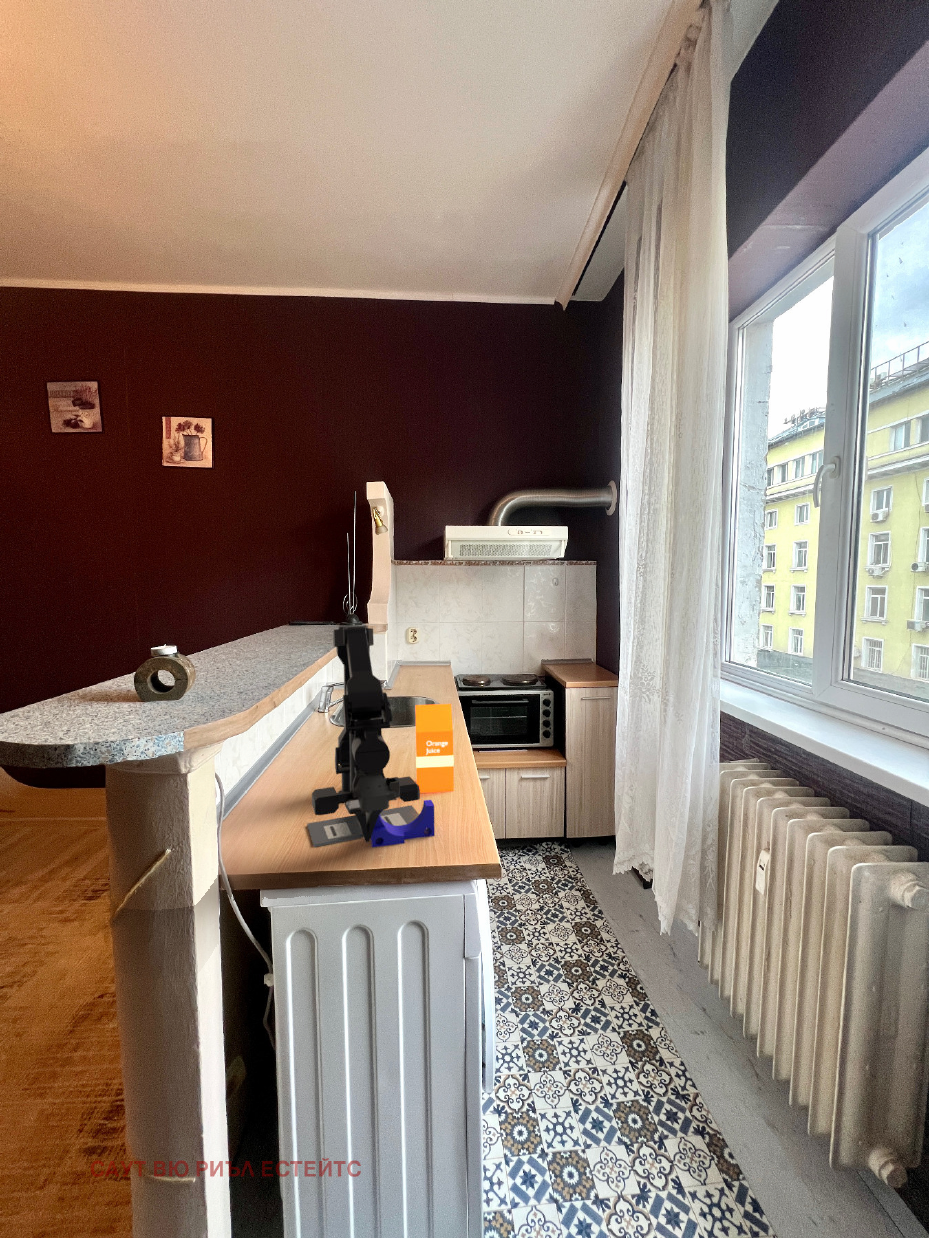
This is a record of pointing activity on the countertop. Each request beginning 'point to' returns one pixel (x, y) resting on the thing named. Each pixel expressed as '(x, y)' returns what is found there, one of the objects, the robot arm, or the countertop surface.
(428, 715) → the orange juice
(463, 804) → the countertop surface
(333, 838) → the plate
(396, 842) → the blue cradle bracket
